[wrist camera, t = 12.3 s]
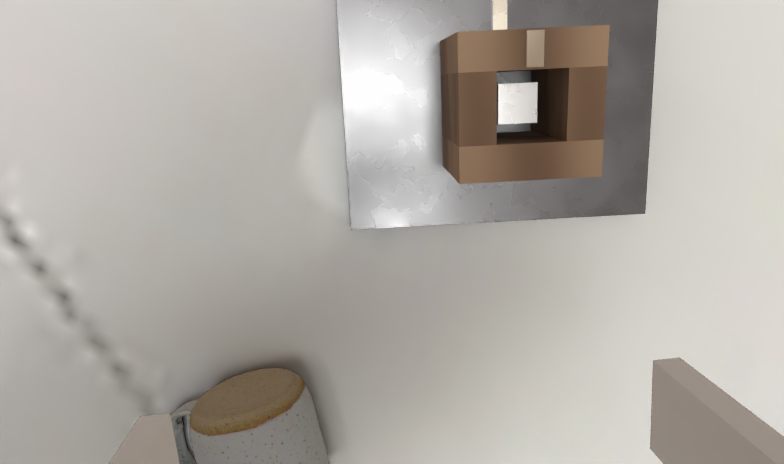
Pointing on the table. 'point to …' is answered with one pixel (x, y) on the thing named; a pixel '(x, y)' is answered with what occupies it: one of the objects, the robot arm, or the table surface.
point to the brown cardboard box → (554, 103)
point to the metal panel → (514, 111)
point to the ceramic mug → (252, 422)
